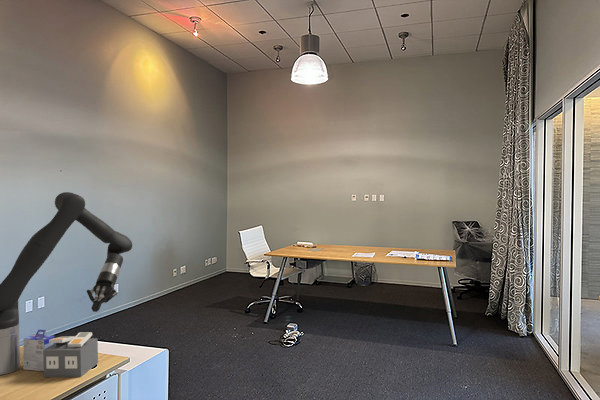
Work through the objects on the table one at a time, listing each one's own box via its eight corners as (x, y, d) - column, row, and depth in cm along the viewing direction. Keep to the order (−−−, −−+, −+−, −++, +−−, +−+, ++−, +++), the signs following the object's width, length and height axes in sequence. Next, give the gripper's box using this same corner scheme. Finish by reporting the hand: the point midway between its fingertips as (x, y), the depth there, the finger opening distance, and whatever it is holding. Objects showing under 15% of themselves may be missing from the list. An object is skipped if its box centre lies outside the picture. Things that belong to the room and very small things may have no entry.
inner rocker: (49, 342, 149) (49, 339, 149) (62, 339, 157) (62, 336, 157) (62, 342, 149) (62, 339, 149) (74, 339, 157) (74, 336, 157)
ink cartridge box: (56, 365, 157) (55, 329, 157) (44, 372, 152) (43, 334, 152) (34, 364, 159) (34, 328, 159) (22, 370, 154) (21, 332, 154)
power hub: (43, 377, 147) (42, 348, 147) (63, 363, 159) (62, 336, 159) (80, 377, 147) (79, 348, 147) (98, 363, 159) (97, 336, 159)
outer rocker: (68, 346, 149) (67, 343, 149) (79, 335, 157) (79, 332, 157) (81, 346, 149) (80, 343, 149) (92, 335, 157) (91, 332, 157)
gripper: (90, 270, 173) (74, 306, 161) (120, 270, 173) (107, 306, 161) (97, 280, 179) (82, 315, 167) (126, 280, 179) (113, 315, 167)
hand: (94, 310), depth 164 cm, fingers closed
